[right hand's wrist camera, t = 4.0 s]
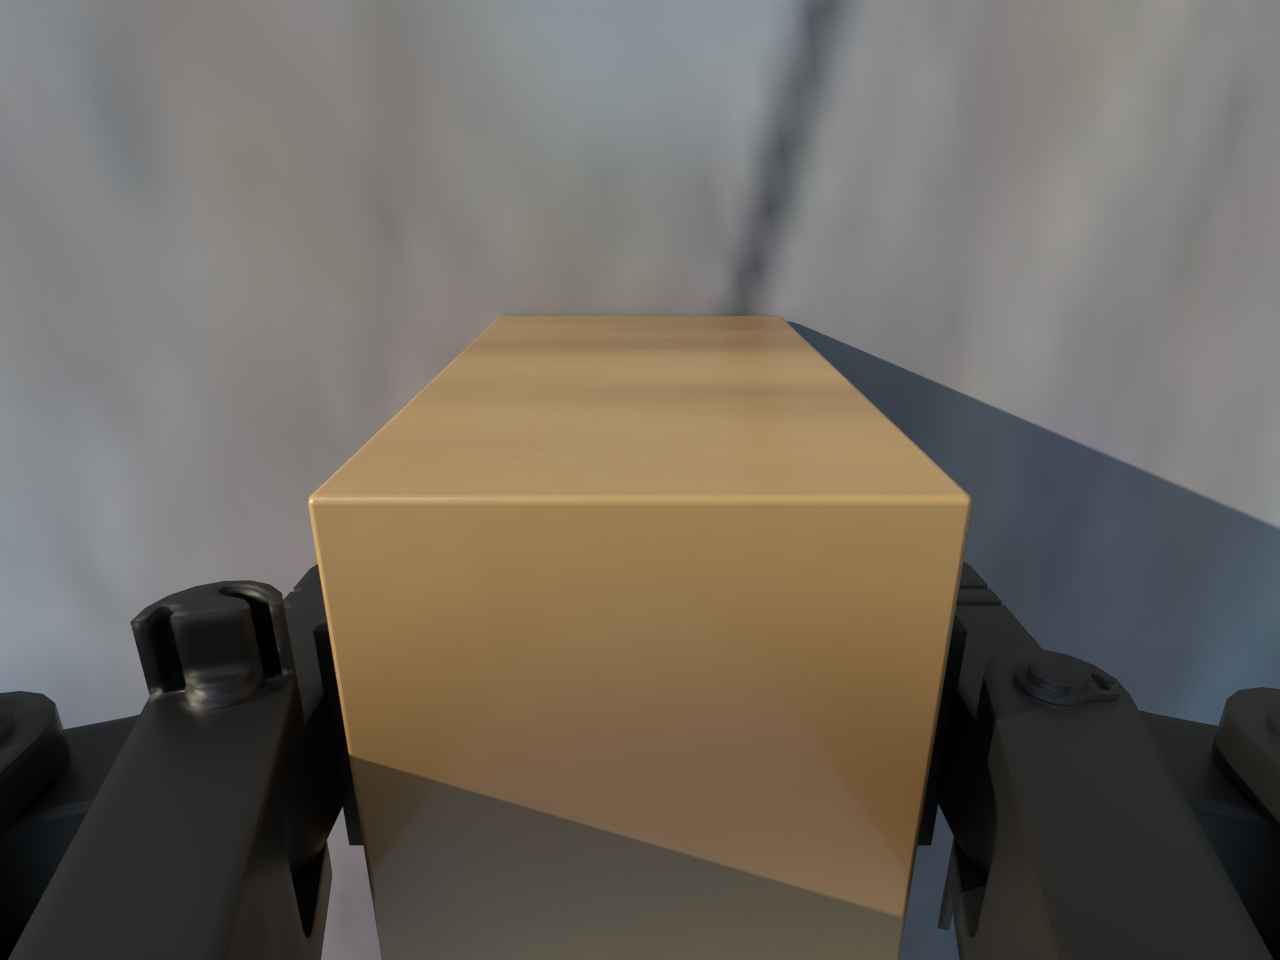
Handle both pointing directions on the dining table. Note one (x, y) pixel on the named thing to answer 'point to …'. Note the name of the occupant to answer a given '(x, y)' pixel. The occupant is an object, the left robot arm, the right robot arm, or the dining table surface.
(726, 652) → the bar
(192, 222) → the dining table surface
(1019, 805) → the right robot arm
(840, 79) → the dining table surface
